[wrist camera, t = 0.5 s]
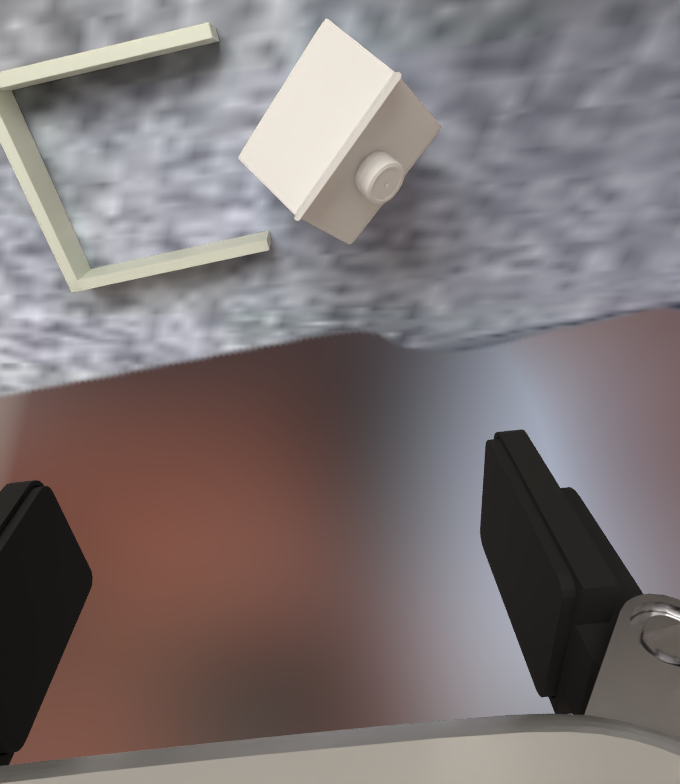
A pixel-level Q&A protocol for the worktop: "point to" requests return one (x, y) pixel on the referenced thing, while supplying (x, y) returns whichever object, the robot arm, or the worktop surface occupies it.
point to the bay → (10, 129)
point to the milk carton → (339, 136)
